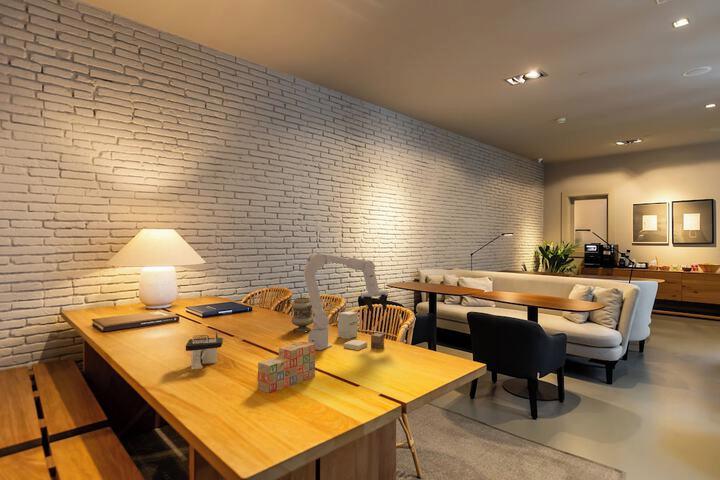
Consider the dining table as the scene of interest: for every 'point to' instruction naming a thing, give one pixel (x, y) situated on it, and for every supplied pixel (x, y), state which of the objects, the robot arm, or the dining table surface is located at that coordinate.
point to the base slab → (355, 344)
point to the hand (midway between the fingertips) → (378, 310)
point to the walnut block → (377, 341)
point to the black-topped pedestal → (203, 350)
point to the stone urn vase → (302, 314)
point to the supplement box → (347, 324)
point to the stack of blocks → (287, 367)
